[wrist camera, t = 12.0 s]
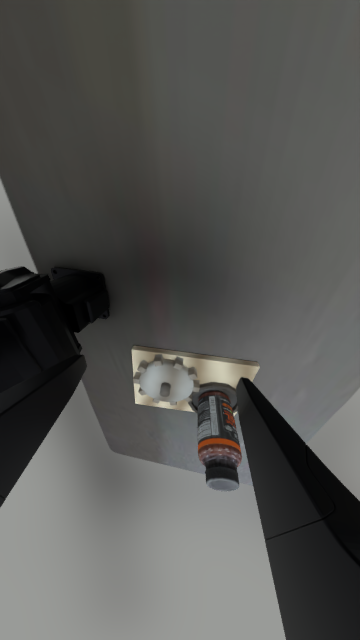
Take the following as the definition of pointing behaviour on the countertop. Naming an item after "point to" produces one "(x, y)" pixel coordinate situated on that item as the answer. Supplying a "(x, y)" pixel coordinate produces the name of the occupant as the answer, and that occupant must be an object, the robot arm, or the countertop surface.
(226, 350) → the countertop surface
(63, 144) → the countertop surface
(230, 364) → the gear board
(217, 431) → the supplement bottle
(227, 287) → the countertop surface
